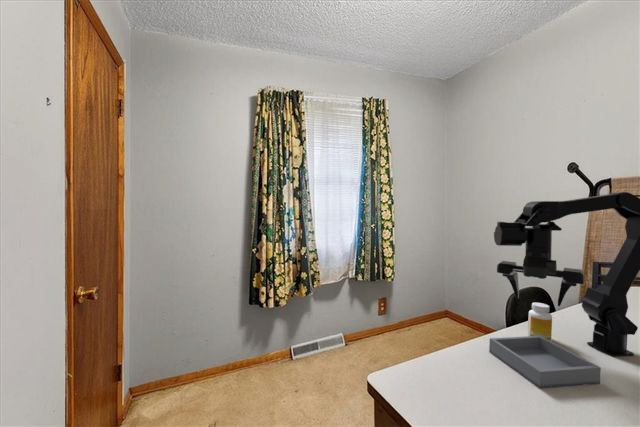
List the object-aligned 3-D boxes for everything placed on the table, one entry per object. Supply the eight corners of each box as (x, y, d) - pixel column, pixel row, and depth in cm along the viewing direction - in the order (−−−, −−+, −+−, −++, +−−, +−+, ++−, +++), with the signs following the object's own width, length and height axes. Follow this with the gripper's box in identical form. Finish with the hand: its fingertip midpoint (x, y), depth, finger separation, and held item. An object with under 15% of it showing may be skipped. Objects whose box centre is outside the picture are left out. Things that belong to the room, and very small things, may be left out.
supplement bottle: (555, 343, 79) (557, 309, 78) (533, 341, 80) (535, 307, 79) (544, 334, 84) (545, 302, 84) (524, 332, 85) (525, 300, 85)
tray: (539, 349, 75) (539, 335, 75) (599, 383, 61) (600, 367, 61) (489, 351, 74) (489, 338, 73) (539, 388, 59) (540, 371, 59)
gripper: (492, 246, 79) (492, 301, 80) (583, 254, 66) (582, 319, 67) (501, 242, 87) (500, 292, 88) (584, 248, 74) (583, 307, 75)
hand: (537, 301), depth 79 cm, fingers open, 9 cm apart
